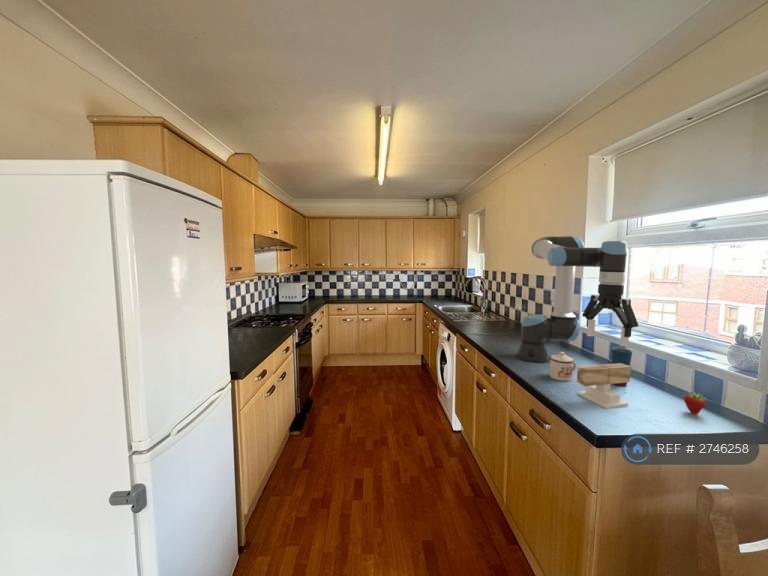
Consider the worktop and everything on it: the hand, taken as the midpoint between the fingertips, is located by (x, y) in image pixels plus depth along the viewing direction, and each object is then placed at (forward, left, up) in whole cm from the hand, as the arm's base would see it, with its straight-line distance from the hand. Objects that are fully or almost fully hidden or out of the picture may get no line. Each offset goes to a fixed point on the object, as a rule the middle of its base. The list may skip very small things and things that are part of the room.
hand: (606, 340), depth 115 cm
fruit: (+15, +22, -23) cm, 35 cm away
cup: (-11, +21, -23) cm, 33 cm away
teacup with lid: (-22, +3, -23) cm, 32 cm away
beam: (0, 0, -16) cm, 16 cm away
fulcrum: (0, 0, -23) cm, 23 cm away
